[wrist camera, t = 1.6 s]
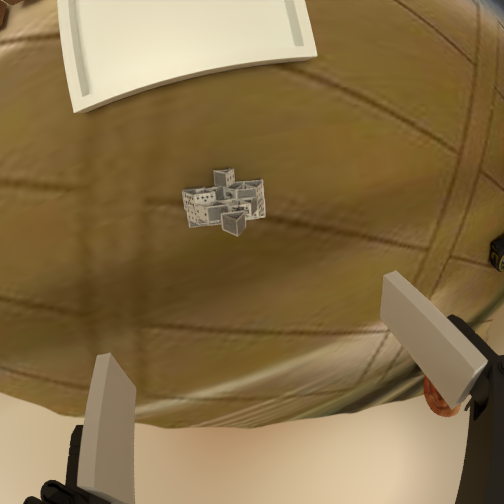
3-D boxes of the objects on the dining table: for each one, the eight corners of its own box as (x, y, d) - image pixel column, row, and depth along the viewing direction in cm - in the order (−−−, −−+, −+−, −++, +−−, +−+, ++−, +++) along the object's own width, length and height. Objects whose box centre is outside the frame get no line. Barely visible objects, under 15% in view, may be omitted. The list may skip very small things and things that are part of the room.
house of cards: (276, 124, 25) (309, 130, 18) (278, 212, 29) (307, 245, 22) (176, 132, 23) (171, 140, 17) (187, 224, 28) (188, 262, 21)
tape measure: (512, 228, 38) (523, 239, 35) (507, 256, 42) (516, 267, 38) (489, 238, 39) (500, 249, 36) (484, 266, 43) (494, 278, 40)
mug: (440, 315, 44) (490, 367, 31) (457, 319, 47) (502, 366, 34) (396, 373, 49) (434, 428, 36) (417, 373, 52) (452, 421, 39)
